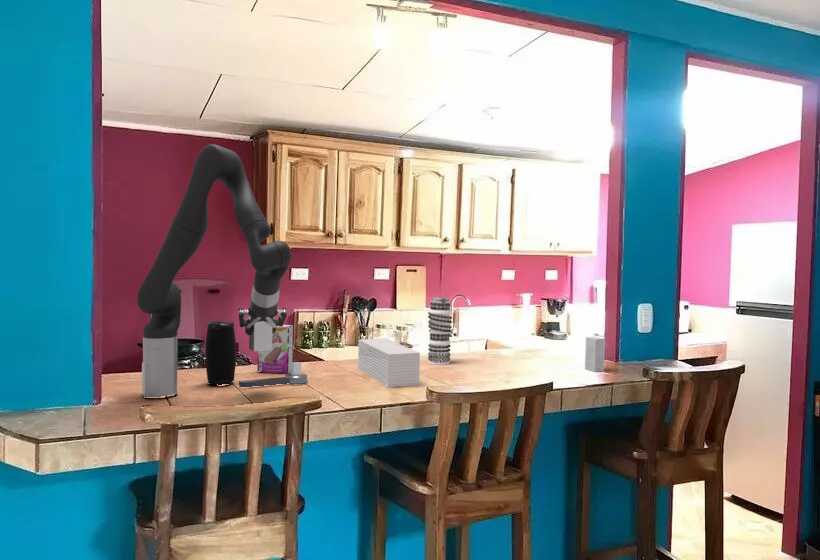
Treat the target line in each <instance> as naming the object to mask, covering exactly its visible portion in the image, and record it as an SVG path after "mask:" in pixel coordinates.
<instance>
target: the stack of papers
mask: <svg viewBox="0 0 820 560" xmlns="http://www.w3.org/2000/svg"><path fill="white" fill-rule="evenodd" d="M357 347H358V349H357V350H358V352H357V353H358V355H357V358H358V359H357V360H358V362H357V366H358V367H357V369H358V368H359V370H360V369H361V370H362V372H363V371H364V372H363V373H365V374H366V375H367V376H368V377H371V378H372V377H373V378H372V379H373V380H376V381H377V380H378V382H379V383H380V382H381V384H382V385H383V386H385V385H386V386H385V387H387V388H396V387H395V386H400V387H411V386H413V385H414V386H420V372H421V371H420V365H421V362H420V360H421V352H420V351H417V350H414V349H412V348H410V347H408V346H405V345H402V344H400V343H397V342H395V341H393V340H391V339H388V338H385V337H384V338H366V339H365V338H363V339H358V344H357ZM361 370H360V371H361Z"/></svg>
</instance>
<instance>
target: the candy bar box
mask: <svg viewBox="0 0 820 560" xmlns="http://www.w3.org/2000/svg"><path fill="white" fill-rule="evenodd" d="M293 334H294V325H290V324H283V326H277V327H276V332H275V333H273V335H272V350H271V351H257V372H258V371H260V372H268V373H267V374H281V373H285V375H286V374H288V373H289V374H291V373H292V363H293V344H294V343H293V341H294V340H293V338H294V337H293ZM260 372H259V373H260Z"/></svg>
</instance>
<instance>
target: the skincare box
mask: <svg viewBox="0 0 820 560" xmlns="http://www.w3.org/2000/svg"><path fill="white" fill-rule="evenodd" d="M605 344H606V343H605V338H603V337H602V338H601V337H597V336H586V337H585V354H584V355H585V356H584V357H585V359H584V369H585V370H588V371H591V372H597V373H598V372H604V371H605Z"/></svg>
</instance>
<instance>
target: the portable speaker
mask: <svg viewBox="0 0 820 560" xmlns="http://www.w3.org/2000/svg"><path fill="white" fill-rule="evenodd" d="M205 338H206V339H205V368H206V379H207V384H208V383H211V384H215V385H216V386H217V384H218V385H222V384H230V383H231V382H232V381H233V382H234V380H235V372H236V364H237V357H236V356H237V354H236V353H237V350H236V349H237V347H236V344H237V343H236V333H235V324H234V322H233V321H230V322H227V321H220V320H219V321H218V320H216V321H215V320H214V321H210V322H209V323H208V325H207V329H206V337H205ZM233 382H232V383H233ZM232 383H231V384H232ZM231 384H230V385H231Z"/></svg>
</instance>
